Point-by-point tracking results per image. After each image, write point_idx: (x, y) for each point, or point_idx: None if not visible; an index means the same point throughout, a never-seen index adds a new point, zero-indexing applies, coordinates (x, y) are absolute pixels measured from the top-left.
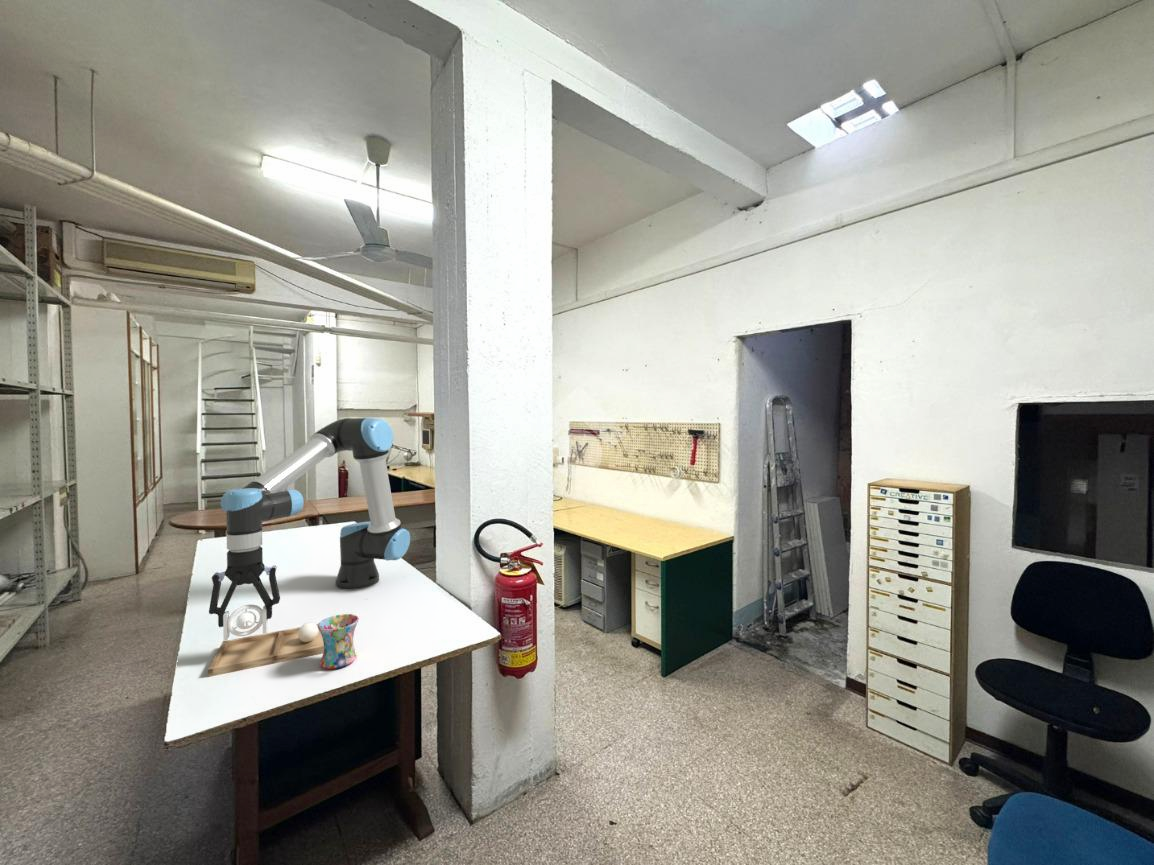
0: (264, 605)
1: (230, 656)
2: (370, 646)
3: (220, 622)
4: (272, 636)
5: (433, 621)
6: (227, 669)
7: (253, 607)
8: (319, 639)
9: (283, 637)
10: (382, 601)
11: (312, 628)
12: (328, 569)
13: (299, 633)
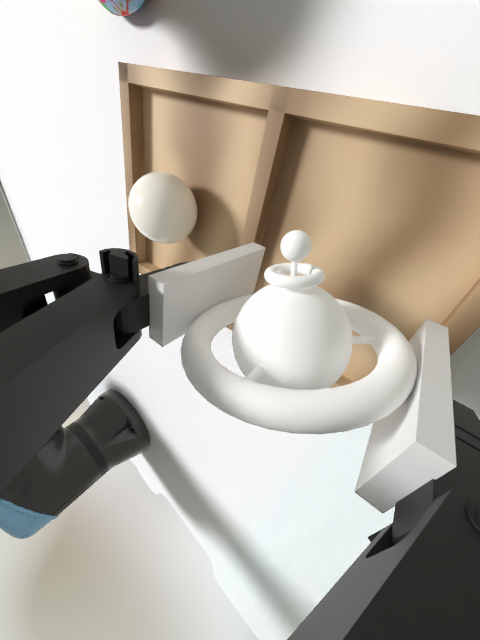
0: (160, 344)
1: (407, 300)
2: (76, 37)
3: (466, 434)
4: None
5: (10, 116)
6: None
7: (201, 356)
8: None
9: None
10: None
11: (137, 181)
12: (158, 492)
13: (177, 199)
